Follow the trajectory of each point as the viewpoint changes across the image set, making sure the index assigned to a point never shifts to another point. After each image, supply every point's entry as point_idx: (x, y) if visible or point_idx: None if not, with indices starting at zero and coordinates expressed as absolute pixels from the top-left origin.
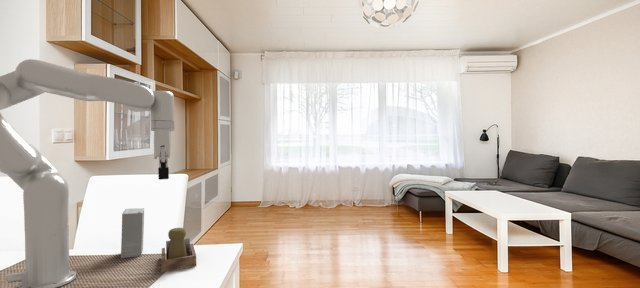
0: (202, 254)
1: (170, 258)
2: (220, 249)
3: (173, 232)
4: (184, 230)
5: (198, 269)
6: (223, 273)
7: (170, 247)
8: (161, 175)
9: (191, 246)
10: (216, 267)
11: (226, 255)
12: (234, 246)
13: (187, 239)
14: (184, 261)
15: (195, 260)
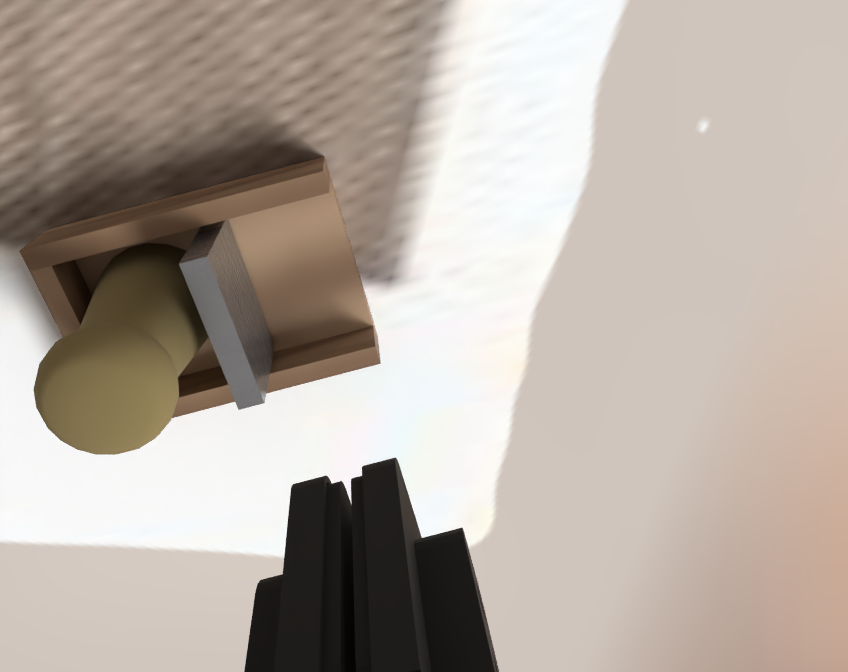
0: (332, 395)
1: (98, 286)
2: None
3: (34, 392)
4: (103, 453)
5: None
6: (8, 540)
7: (90, 311)
8: (259, 601)
9: (314, 368)
10: (97, 499)
11: (284, 519)
12: None
13: (234, 395)
14: None
15: None
